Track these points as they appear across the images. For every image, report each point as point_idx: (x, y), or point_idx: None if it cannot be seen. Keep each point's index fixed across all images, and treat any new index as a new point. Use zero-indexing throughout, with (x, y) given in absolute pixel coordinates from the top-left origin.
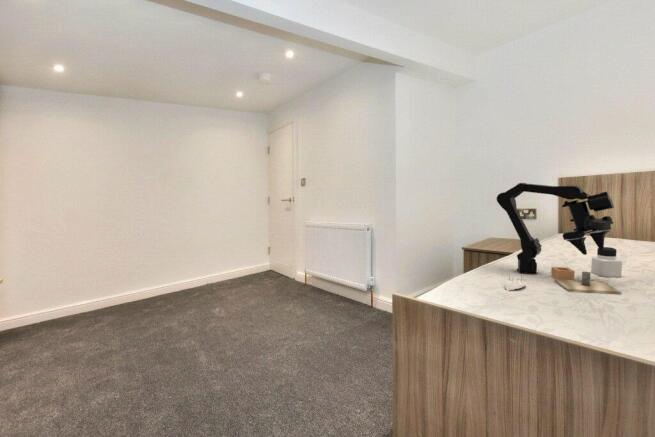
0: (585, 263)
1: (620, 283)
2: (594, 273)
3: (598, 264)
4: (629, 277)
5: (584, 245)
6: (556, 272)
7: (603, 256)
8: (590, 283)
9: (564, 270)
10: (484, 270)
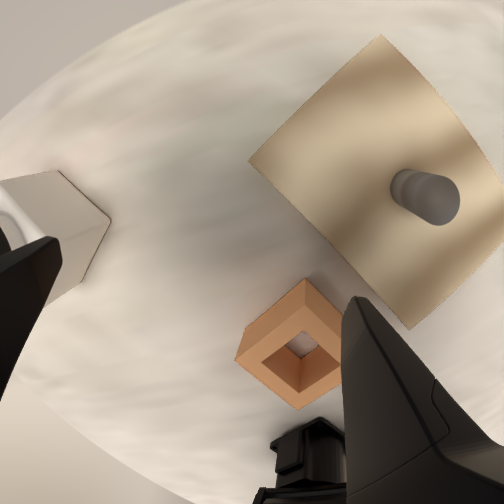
0: None
1: (162, 112)
2: (87, 265)
3: (63, 263)
4: (40, 150)
5: (421, 392)
6: None
7: None
8: (354, 183)
9: (333, 345)
10: None
